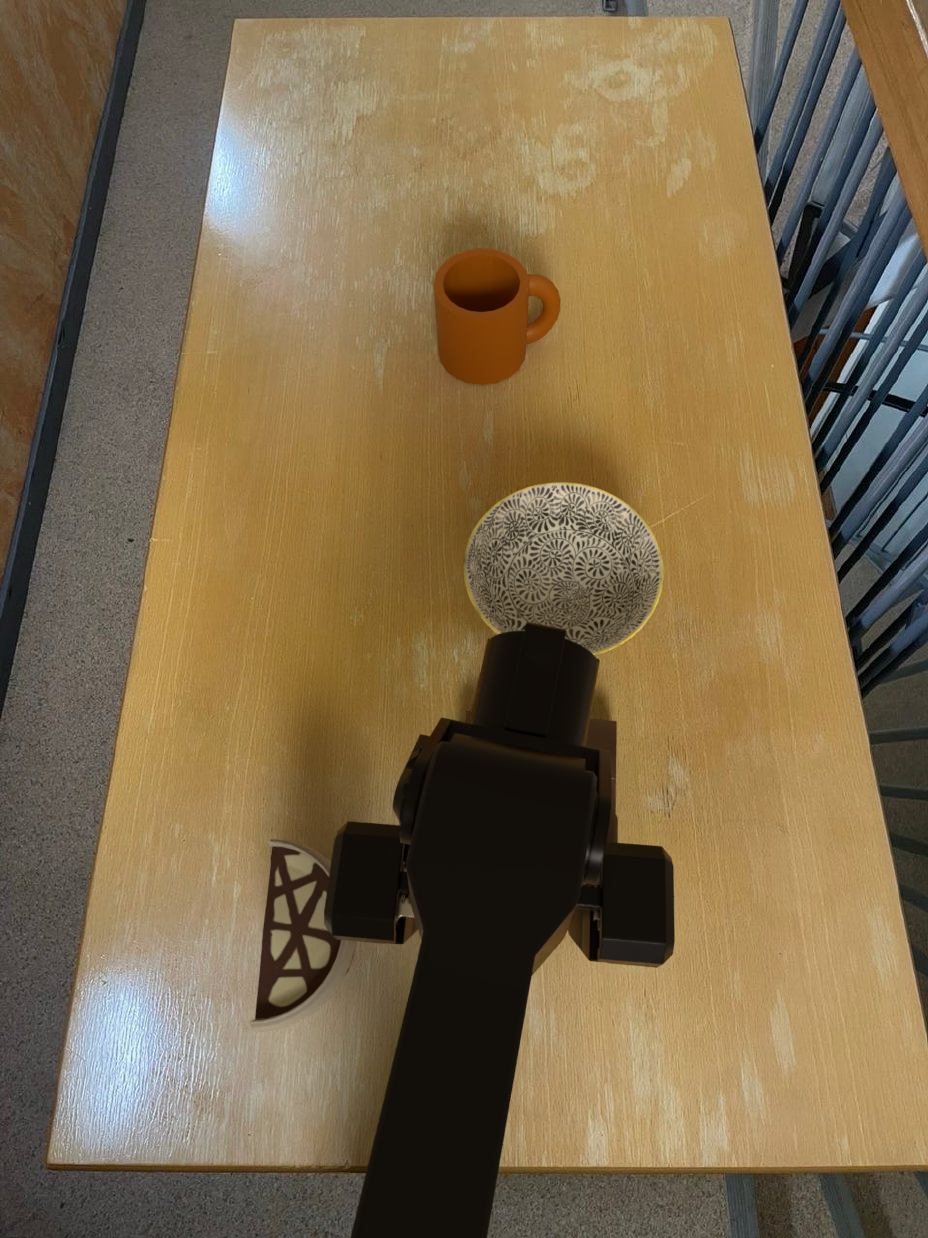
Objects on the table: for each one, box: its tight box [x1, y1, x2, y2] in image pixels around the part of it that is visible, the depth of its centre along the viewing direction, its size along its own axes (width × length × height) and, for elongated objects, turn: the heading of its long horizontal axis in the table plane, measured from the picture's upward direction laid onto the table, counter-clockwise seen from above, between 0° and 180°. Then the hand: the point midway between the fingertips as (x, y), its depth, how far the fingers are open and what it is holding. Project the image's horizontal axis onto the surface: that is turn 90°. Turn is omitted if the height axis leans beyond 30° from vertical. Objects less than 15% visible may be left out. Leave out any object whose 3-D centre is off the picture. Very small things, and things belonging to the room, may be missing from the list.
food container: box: [248, 838, 357, 1034], centre depth 64 cm, size 12×6×10 cm, turn 179°
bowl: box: [462, 481, 665, 657], centre depth 77 cm, size 16×16×8 cm
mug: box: [432, 247, 561, 386], centre depth 88 cm, size 9×12×9 cm
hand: (497, 915), depth 58 cm, fingers open, 9 cm apart
